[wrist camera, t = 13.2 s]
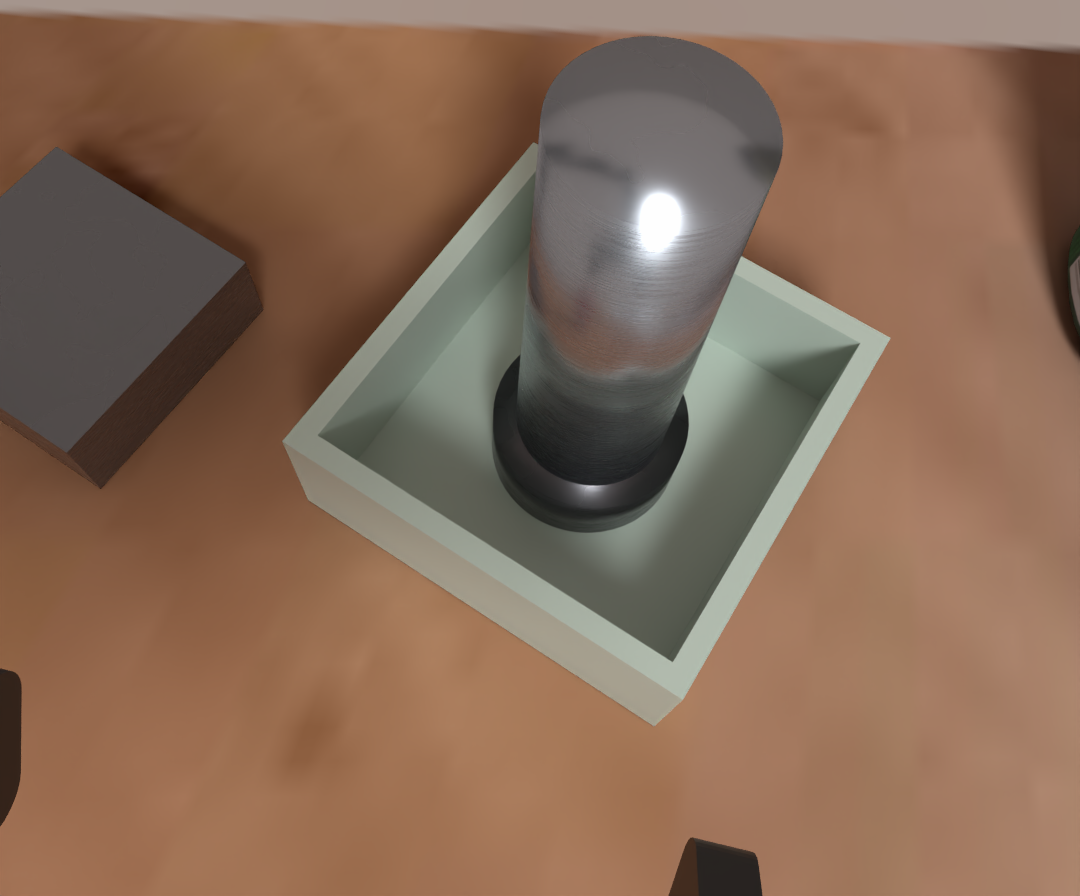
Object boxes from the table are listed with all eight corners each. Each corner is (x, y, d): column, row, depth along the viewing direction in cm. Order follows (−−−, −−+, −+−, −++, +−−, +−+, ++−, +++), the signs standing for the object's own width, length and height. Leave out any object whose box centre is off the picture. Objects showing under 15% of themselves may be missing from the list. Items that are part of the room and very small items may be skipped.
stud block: (-85, 362, 29) (-133, 317, 27) (87, 200, 31) (56, 146, 29) (100, 488, 28) (66, 452, 25) (263, 309, 30) (245, 262, 28)
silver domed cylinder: (471, 507, 27) (468, 220, 15) (516, 346, 29) (543, -18, 18) (657, 552, 27) (798, 295, 15) (689, 387, 29) (835, 47, 17)
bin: (308, 499, 28) (282, 441, 24) (527, 227, 32) (533, 142, 28) (654, 726, 26) (682, 700, 22) (840, 404, 30) (890, 338, 26)
